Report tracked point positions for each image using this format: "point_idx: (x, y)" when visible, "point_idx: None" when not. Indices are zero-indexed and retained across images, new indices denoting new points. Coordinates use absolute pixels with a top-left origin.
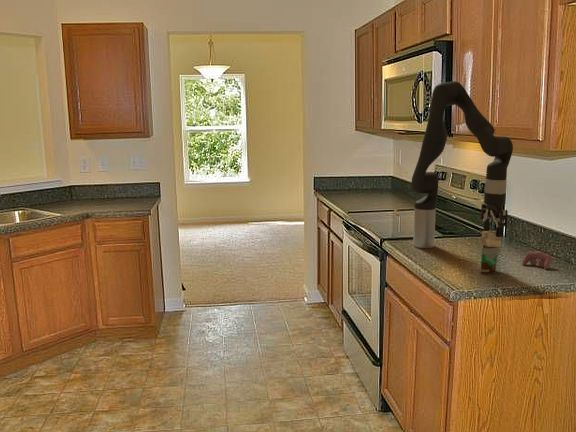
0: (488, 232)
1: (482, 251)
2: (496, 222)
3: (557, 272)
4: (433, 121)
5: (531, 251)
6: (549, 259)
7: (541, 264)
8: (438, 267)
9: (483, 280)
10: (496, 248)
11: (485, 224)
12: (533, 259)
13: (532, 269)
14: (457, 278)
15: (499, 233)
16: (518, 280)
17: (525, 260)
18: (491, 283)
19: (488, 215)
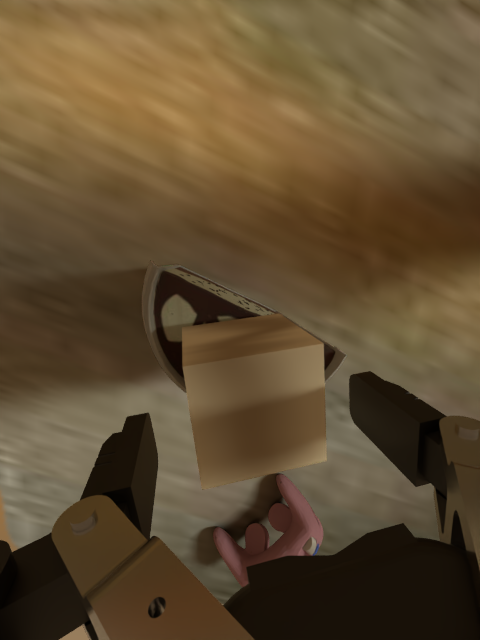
0: (264, 385)
1: (150, 267)
2: (102, 557)
3: (176, 554)
4: None
5: (306, 549)
6: (235, 577)
7: (251, 533)
8: (301, 90)
9: (60, 229)
10: (173, 377)
11: (400, 418)
12: (284, 525)
13: (221, 488)
14: (96, 101)
15: (102, 460)
16: (64, 388)
17: (283, 495)
18: (6, 248)
19: (444, 558)
